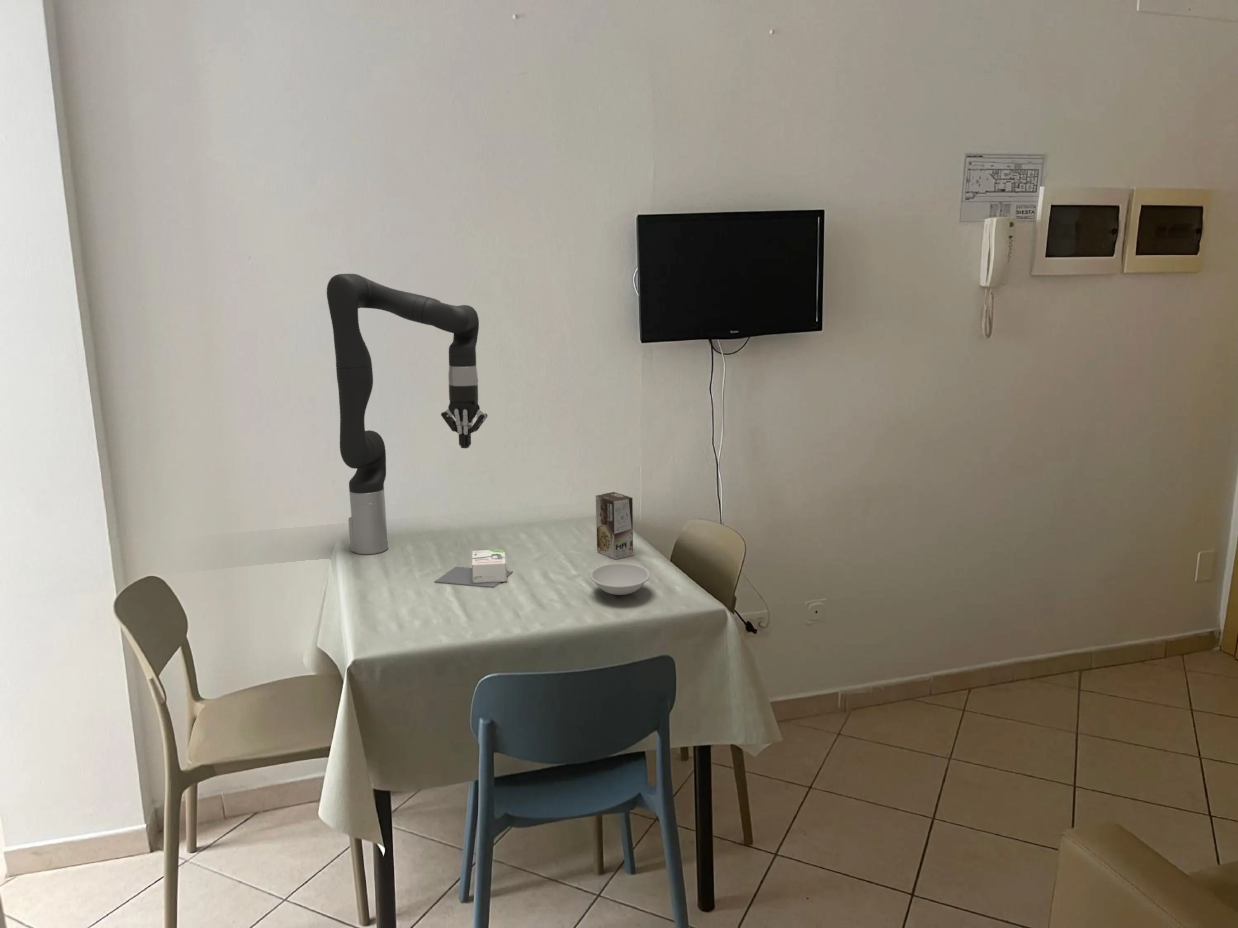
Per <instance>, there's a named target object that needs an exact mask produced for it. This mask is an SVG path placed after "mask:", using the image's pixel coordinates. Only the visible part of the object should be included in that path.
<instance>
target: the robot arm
mask: <svg viewBox="0 0 1238 928" xmlns="http://www.w3.org/2000/svg"><path fill="white" fill-rule="evenodd" d="M326 299H327V304H328V311H329V315H330V320H331V324H332V334H333V343H334V354H335V367H336V368H335V369H336V371H335V372H336V380H337V387H338V401H339V421H340V422H339V451H340V456H341V459H342V461H343V462H344V464H345V465H346V466H347V467H348V468H351V469H356V471H355V473H354V475H353V476H352V477H351V478H350V480H349V481H348V491H349V503H350V505H349V506H350V517H349V518H348V520H347V521H348V532H349V534H348V535H349V546H350V547H349V548H350V552H352V553H353V552H354V553H356V554H357V555H358V554H359V555H373V554H374V555H375V554H379V553H383V552H386V551H387V550H388V549H389V546H388V526H387V512H386V499H385V482H386V479H387V478H386V476H387V456H386V455H387V453H386V452H387V451H386V445H385V442H384V439H383V438H382V436H381V435H380V434H379V433H378V432H376V431H374V430H366V428H365V427H366V426H365V415H366V411H367V410H366V409H367V407H368V403H369V401H370V398H371V393H372V391H373V386H374V374H373V373H374V372H373V362H372V357H371V354H370V352H369V349H368V346H367V345H366V342H365V340H364V338H363V335H362V333H361V329H360V324H359V309H374V310H381V311H384V312H385V311H386V312H388V313H391V314H393V315H395V316H398V317H400V318H401V319H404V320H408V321H411V322H415V323H419V324H422V325H427V326H432V327H434V328H436V329H438V330H442V331H444V332H448V333H451V334H453V335H452V336H453V339H452V342H451V343H450V344H449V346H448V376H447V377H448V400H449V404H448V407H447V409H446V410H445V411H442V412H441V413H440V416H441V417H442V419H443V420H444V422H445V423H446V425H448V427H449V429H450V430H451V431H452V432H456V433H457V434H458V445H459V446H460V448H461V449H469V448H470V446H471V444H472V434H474V432H477V431H478V430H479V429H480V427H481V426H482V425H483V423H484V422H485V421H486V420H487V418H488V413H486V412H483V411H482V410H480V409H481V407H480V405H479V384H478V383H479V379H478V369H477V350H476V349H477V343H478V336H479V328H480V324H479V323H480V319H479V316H478V312H477V310H475V308H474V307H473V306H472V305H471V306H470V305H469V304H468V305H467V304H461V305H455V304H453V305H452V304H448V303H444V302H442V301H440V300H439V299H436V298H434V297H433V298H432V297H429V296H426V295H421V294H417V293H414V292H413V293H412V292H408V291H404V290H399V289H395V288H392V287H388V286H385V285H382V284H380V283H378V282H375V281H373V280H370V279H368V278H366V277H364V276H362V275H360V274H357V273H339V274H335V275H334V276H331V278H330V279H329V280H328V283H327V286H326ZM475 418H476V420H475V421H474V419H475Z"/></svg>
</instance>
